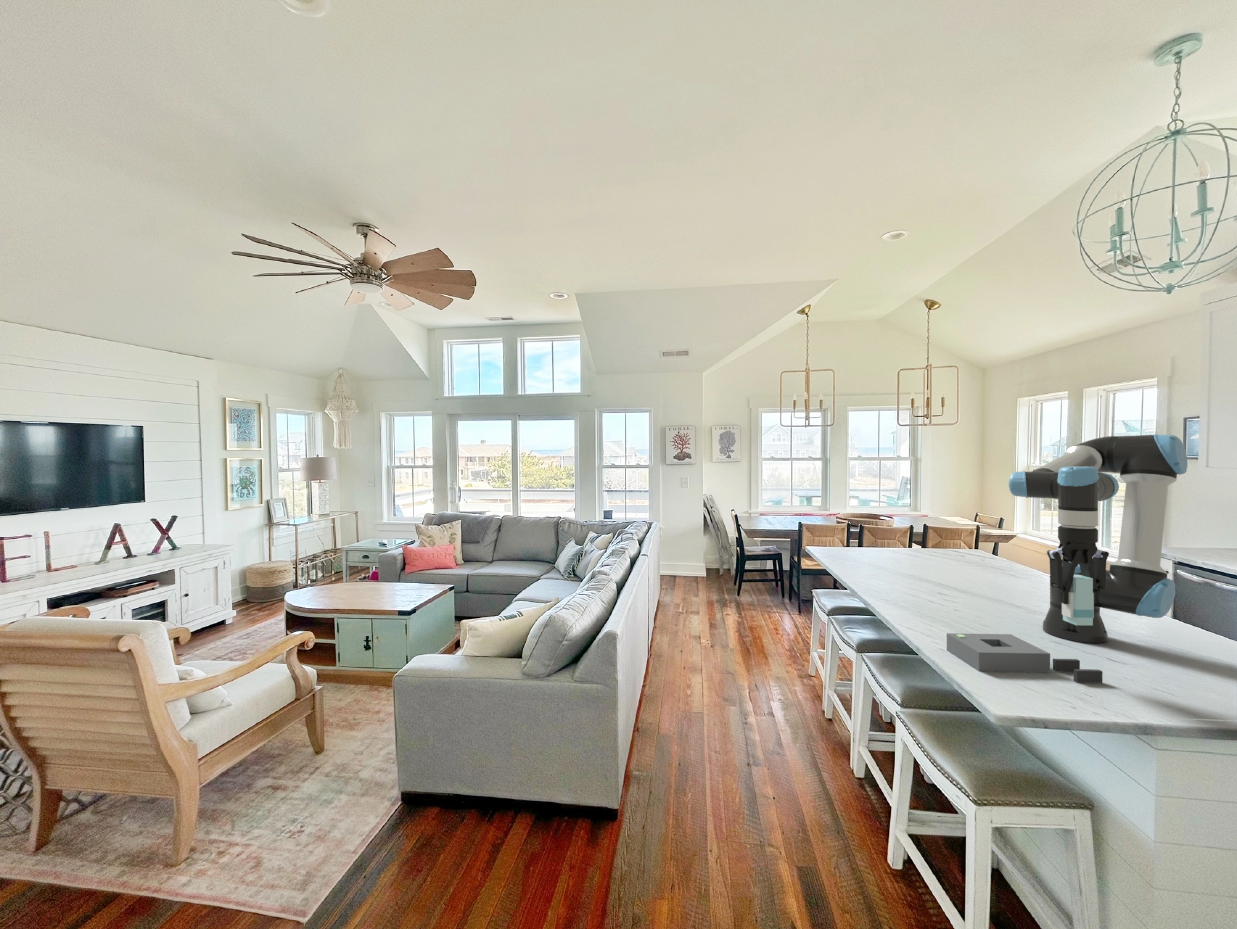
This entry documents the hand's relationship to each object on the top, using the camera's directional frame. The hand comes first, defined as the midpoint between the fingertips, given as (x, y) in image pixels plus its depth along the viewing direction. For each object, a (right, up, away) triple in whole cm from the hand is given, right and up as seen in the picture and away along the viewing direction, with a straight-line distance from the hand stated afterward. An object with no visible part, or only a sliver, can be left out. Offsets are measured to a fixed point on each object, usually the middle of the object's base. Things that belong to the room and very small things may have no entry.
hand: (1077, 616), depth 125 cm
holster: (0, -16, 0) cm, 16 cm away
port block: (-13, -16, +10) cm, 23 cm away
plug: (0, -2, 0) cm, 2 cm away
